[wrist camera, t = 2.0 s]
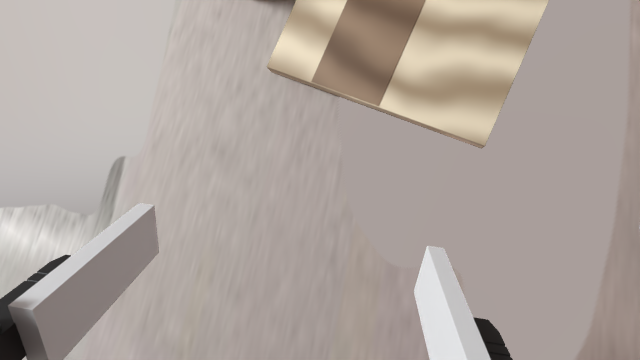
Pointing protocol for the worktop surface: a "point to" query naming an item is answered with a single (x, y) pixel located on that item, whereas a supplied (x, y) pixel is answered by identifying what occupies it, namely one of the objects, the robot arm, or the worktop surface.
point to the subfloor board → (412, 57)
